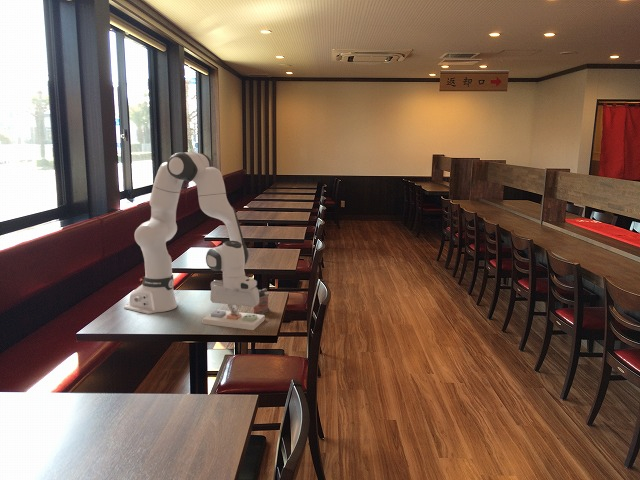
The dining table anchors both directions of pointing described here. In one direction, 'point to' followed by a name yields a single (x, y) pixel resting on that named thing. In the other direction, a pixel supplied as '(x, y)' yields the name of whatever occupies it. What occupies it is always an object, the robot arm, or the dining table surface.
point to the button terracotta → (233, 316)
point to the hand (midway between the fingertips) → (235, 314)
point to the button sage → (250, 317)
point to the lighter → (262, 302)
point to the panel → (233, 321)
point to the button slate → (218, 313)
